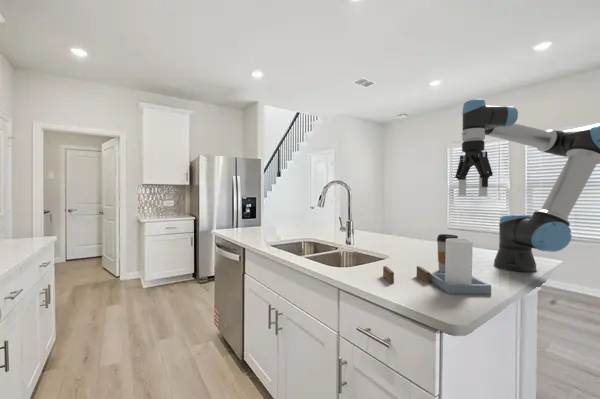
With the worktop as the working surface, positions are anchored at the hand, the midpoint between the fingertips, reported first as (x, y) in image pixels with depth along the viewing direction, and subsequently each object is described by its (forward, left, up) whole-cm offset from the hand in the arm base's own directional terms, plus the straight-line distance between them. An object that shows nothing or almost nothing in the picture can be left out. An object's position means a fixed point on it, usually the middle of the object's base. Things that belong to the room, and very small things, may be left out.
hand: (471, 196), depth 116 cm
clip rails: (+27, +4, -32) cm, 42 cm away
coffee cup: (+5, -8, -32) cm, 33 cm away
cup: (+12, +13, -31) cm, 36 cm away
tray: (+12, +13, -32) cm, 36 cm away
